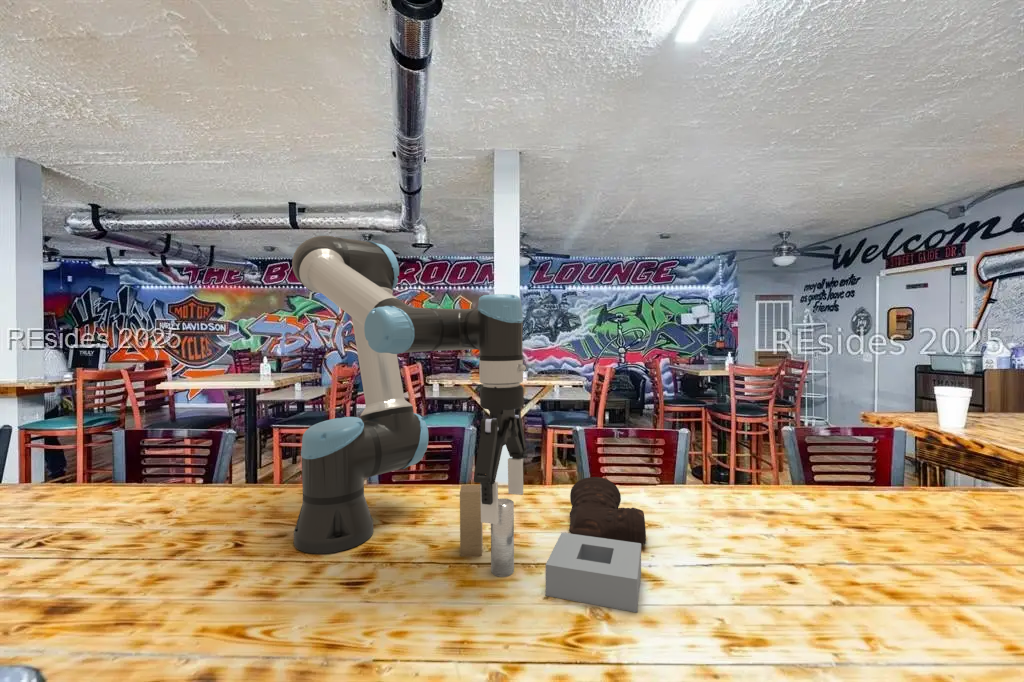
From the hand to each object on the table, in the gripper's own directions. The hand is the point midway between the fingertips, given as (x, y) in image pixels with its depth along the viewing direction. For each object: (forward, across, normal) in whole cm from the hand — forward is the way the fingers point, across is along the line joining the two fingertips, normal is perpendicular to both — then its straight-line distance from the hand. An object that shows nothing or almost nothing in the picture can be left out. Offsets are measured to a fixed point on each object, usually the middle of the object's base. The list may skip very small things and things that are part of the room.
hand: (503, 507), depth 80 cm
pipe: (+12, +21, -15) cm, 28 cm away
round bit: (+11, 0, 0) cm, 11 cm away
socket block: (+12, +1, -16) cm, 19 cm away
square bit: (+11, +5, +8) cm, 15 cm away
